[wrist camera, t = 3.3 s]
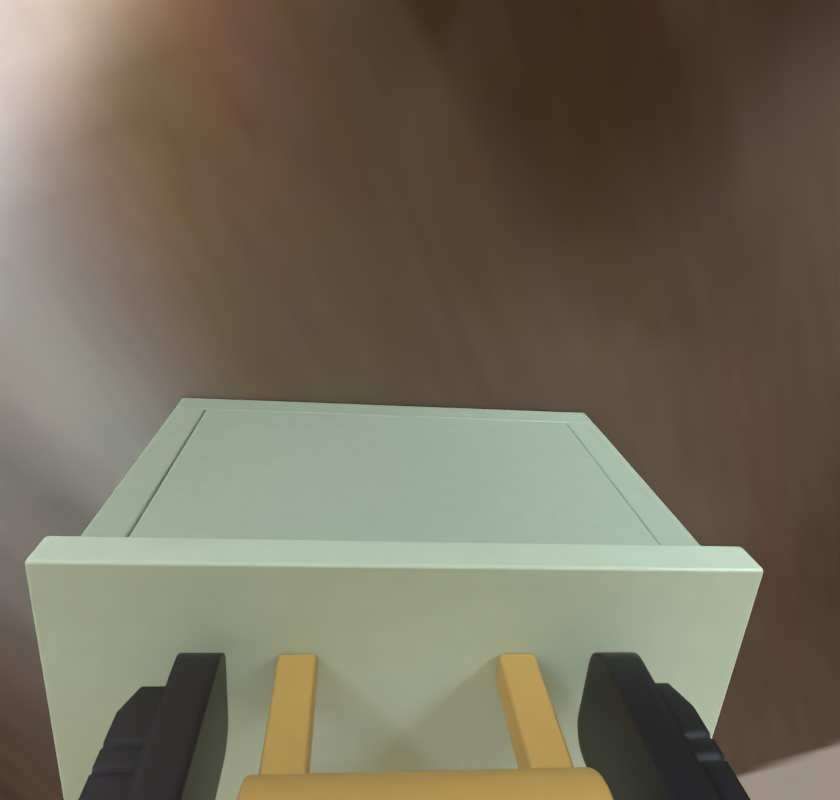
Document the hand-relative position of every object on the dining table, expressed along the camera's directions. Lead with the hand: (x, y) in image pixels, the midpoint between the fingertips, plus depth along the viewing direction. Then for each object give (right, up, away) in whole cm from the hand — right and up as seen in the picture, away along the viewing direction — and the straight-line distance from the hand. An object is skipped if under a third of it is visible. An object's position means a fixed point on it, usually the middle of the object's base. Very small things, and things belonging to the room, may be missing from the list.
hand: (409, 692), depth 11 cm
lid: (-1, -5, +3) cm, 6 cm away
